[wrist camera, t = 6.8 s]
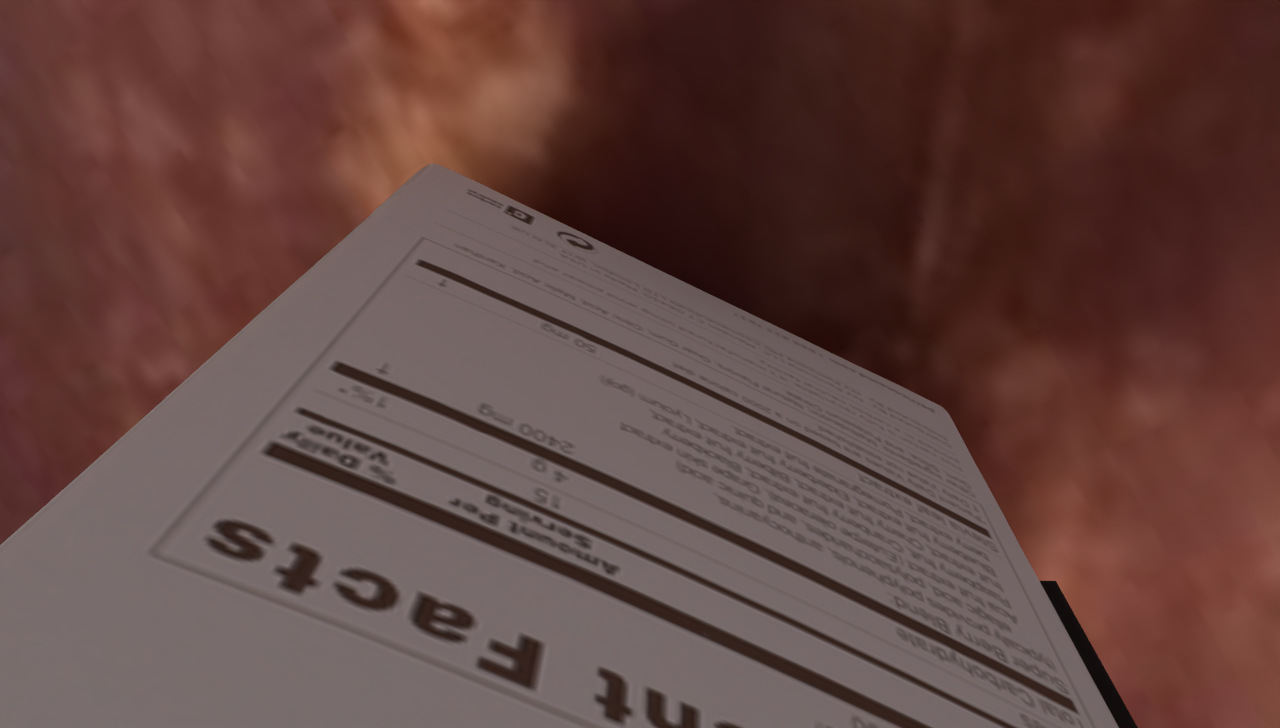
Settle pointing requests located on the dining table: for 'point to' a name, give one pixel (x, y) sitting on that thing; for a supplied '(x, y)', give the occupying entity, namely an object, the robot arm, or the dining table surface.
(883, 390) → the rectangular carton
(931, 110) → the dining table surface
